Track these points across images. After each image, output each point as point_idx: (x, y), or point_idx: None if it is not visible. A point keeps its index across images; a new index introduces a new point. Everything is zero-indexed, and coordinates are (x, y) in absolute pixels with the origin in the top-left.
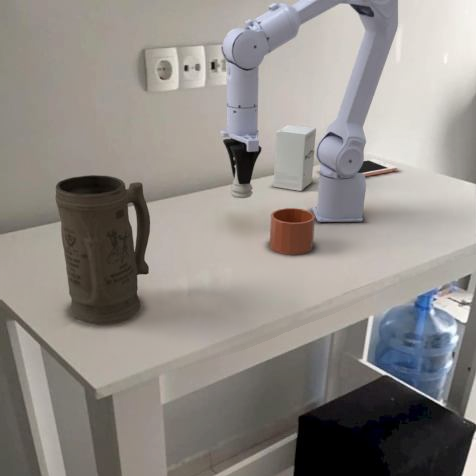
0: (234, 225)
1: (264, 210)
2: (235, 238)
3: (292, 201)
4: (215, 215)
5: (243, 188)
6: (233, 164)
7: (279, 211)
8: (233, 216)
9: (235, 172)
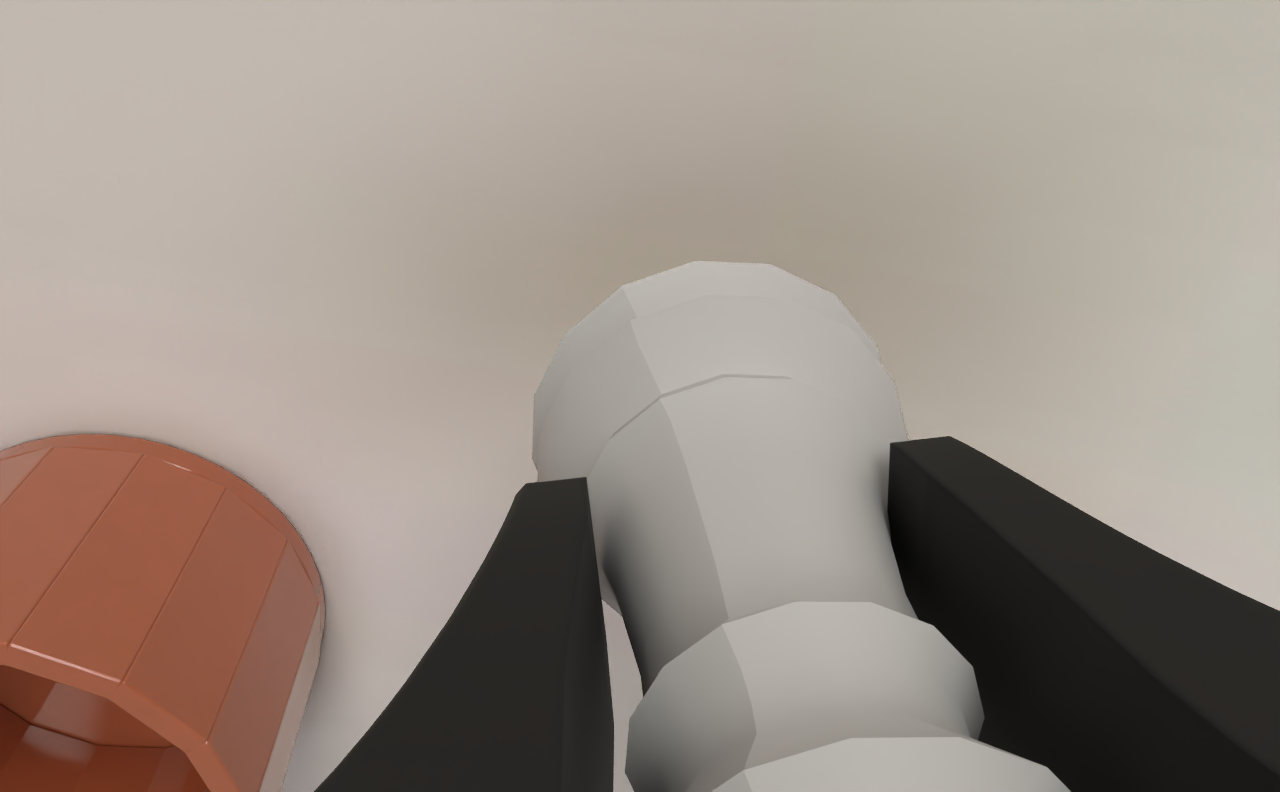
0: (738, 188)
1: None
2: (348, 131)
3: None
4: (1107, 18)
5: None
6: (1020, 598)
7: (179, 734)
8: (1002, 223)
9: (808, 532)
